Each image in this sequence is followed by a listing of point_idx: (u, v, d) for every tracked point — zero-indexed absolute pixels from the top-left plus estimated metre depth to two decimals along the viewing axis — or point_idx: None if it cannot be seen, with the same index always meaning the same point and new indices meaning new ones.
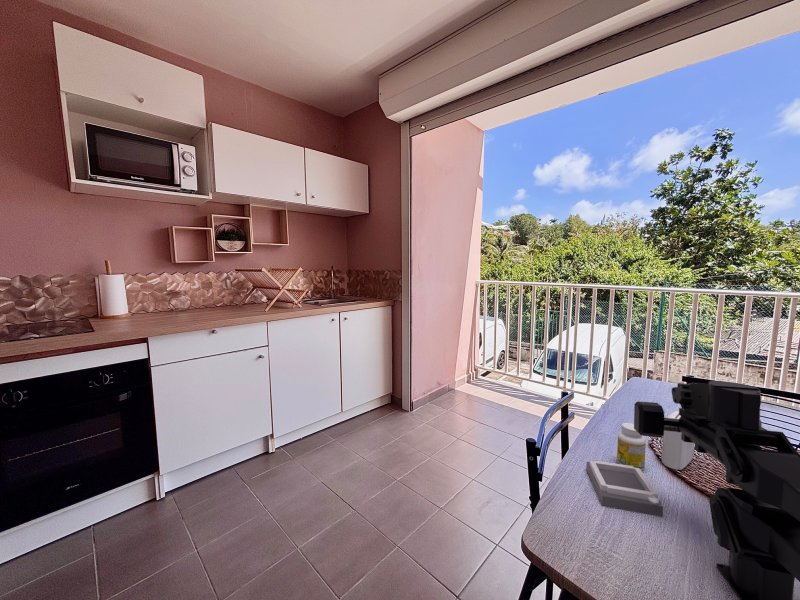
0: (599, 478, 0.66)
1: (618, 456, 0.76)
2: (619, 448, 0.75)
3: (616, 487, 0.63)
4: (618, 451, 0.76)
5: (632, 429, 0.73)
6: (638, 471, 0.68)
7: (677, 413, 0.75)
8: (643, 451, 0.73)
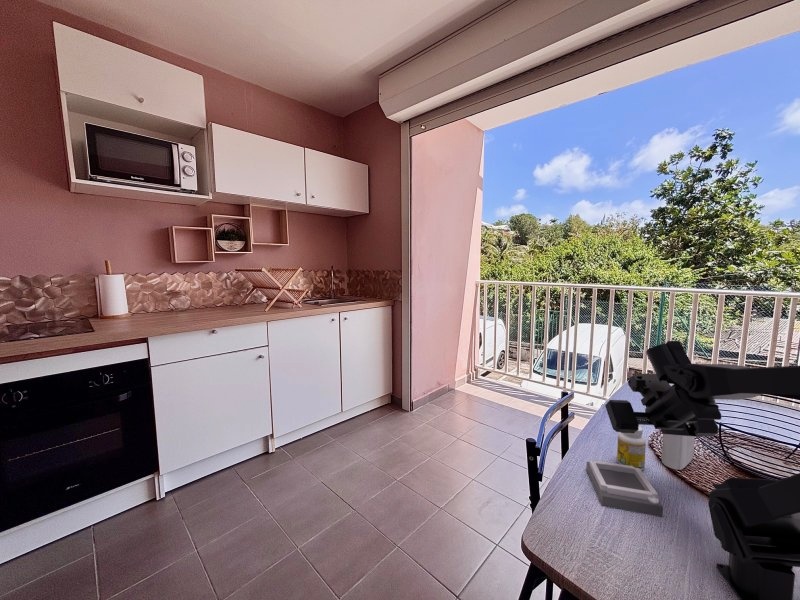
0: (599, 478, 0.66)
1: (618, 456, 0.76)
2: (619, 448, 0.75)
3: (616, 487, 0.63)
4: (618, 451, 0.76)
5: None
6: (638, 471, 0.68)
7: None
8: (643, 451, 0.73)
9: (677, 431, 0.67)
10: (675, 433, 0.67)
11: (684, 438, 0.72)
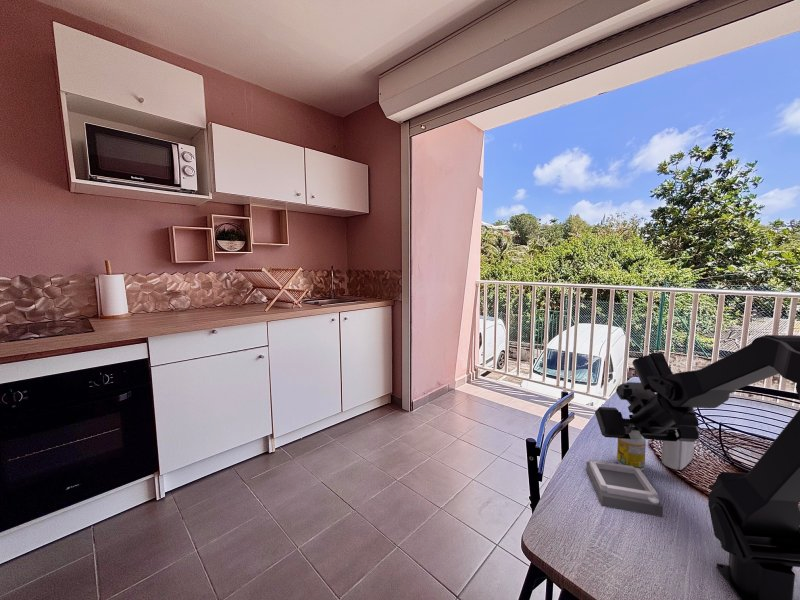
0: (599, 478, 0.66)
1: (618, 456, 0.76)
2: (619, 448, 0.75)
3: (616, 487, 0.63)
4: (618, 451, 0.76)
5: None
6: (638, 471, 0.68)
7: None
8: (643, 451, 0.73)
9: (653, 436, 0.72)
10: (651, 438, 0.72)
11: None
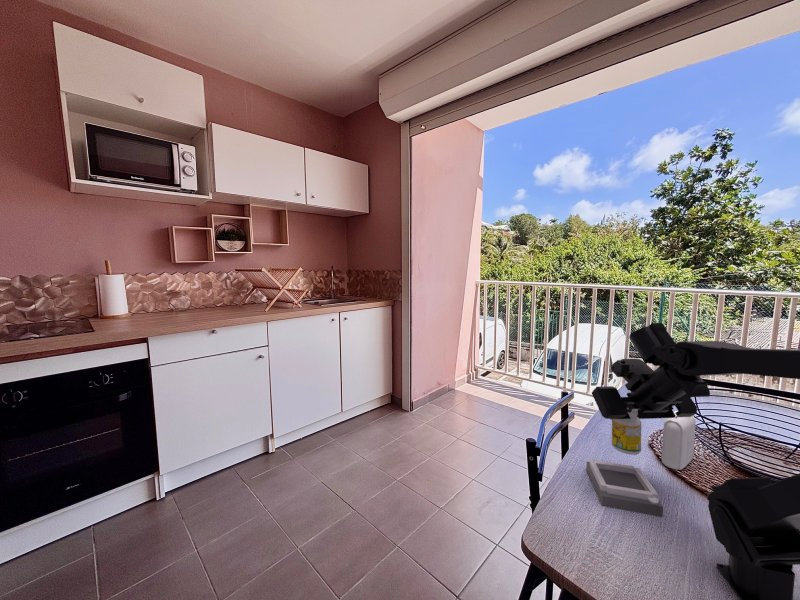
0: (599, 478, 0.66)
1: (614, 440, 0.71)
2: (615, 431, 0.70)
3: (616, 487, 0.63)
4: (613, 435, 0.71)
5: None
6: (638, 471, 0.68)
7: None
8: (640, 432, 0.68)
9: (650, 414, 0.67)
10: (647, 416, 0.68)
11: (684, 438, 0.72)
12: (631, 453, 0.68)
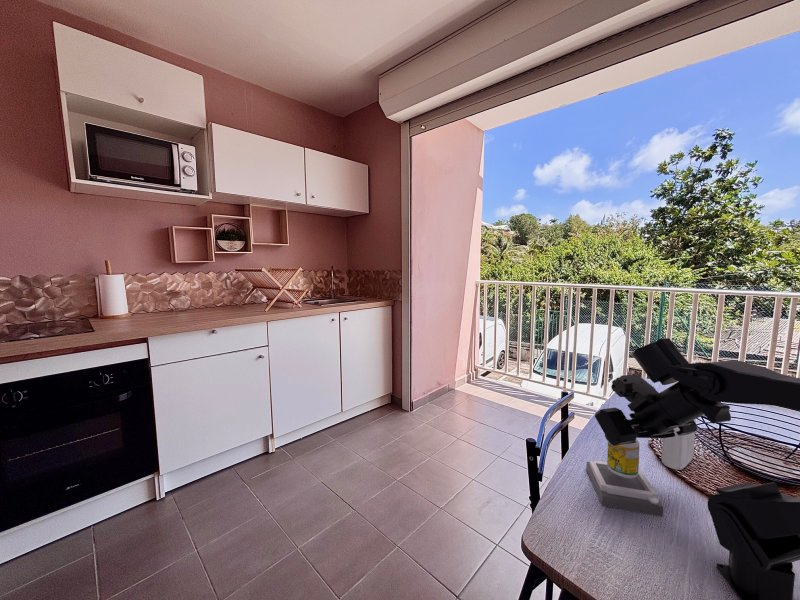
0: (599, 478, 0.66)
1: (611, 463, 0.65)
2: (613, 454, 0.65)
3: (616, 487, 0.63)
4: (611, 457, 0.66)
5: None
6: (638, 471, 0.68)
7: None
8: (638, 453, 0.64)
9: (648, 434, 0.63)
10: (645, 436, 0.64)
11: (684, 438, 0.72)
12: (630, 477, 0.63)
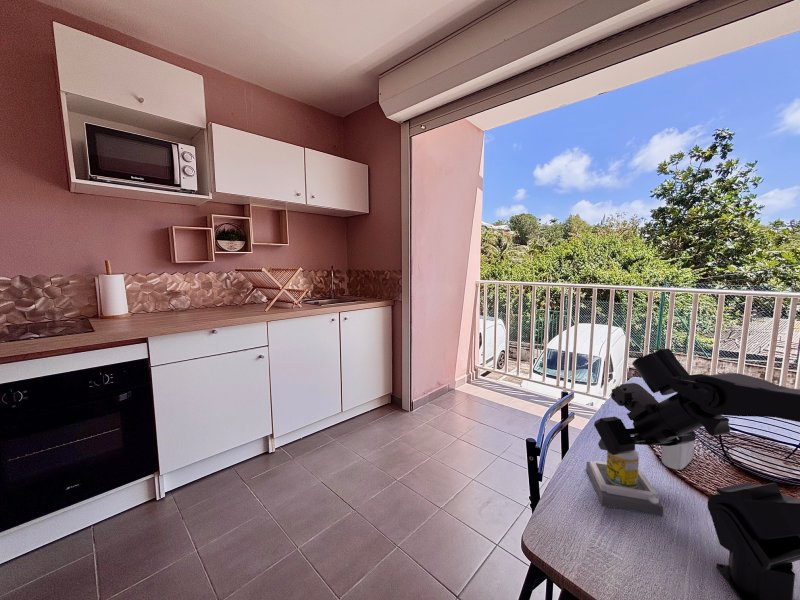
0: (599, 478, 0.66)
1: (611, 475, 0.66)
2: (612, 465, 0.65)
3: (616, 487, 0.63)
4: (610, 469, 0.66)
5: None
6: (638, 471, 0.68)
7: None
8: None
9: None
10: None
11: None
12: None
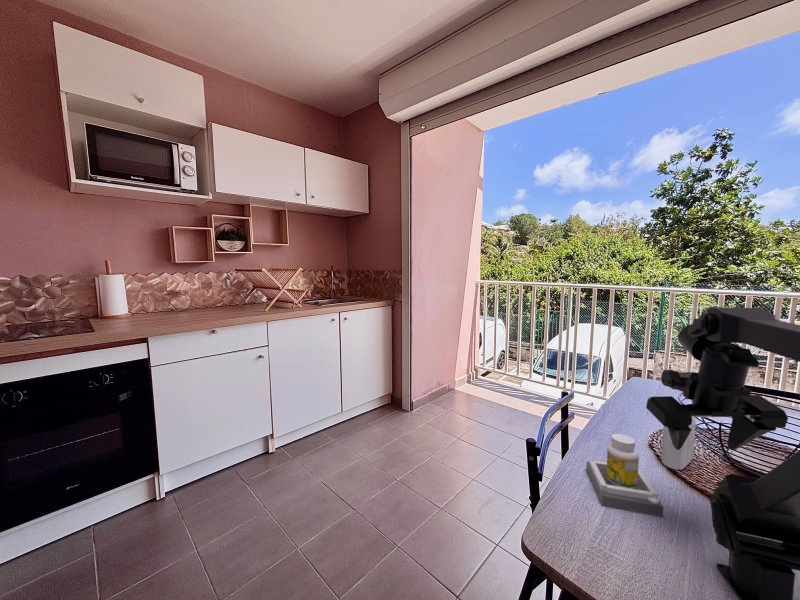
0: (599, 478, 0.66)
1: (611, 475, 0.66)
2: (612, 465, 0.65)
3: (616, 487, 0.63)
4: (610, 469, 0.66)
5: (626, 442, 0.64)
6: (638, 471, 0.68)
7: None
8: None
9: (744, 434, 0.56)
10: (743, 438, 0.56)
11: None
12: None
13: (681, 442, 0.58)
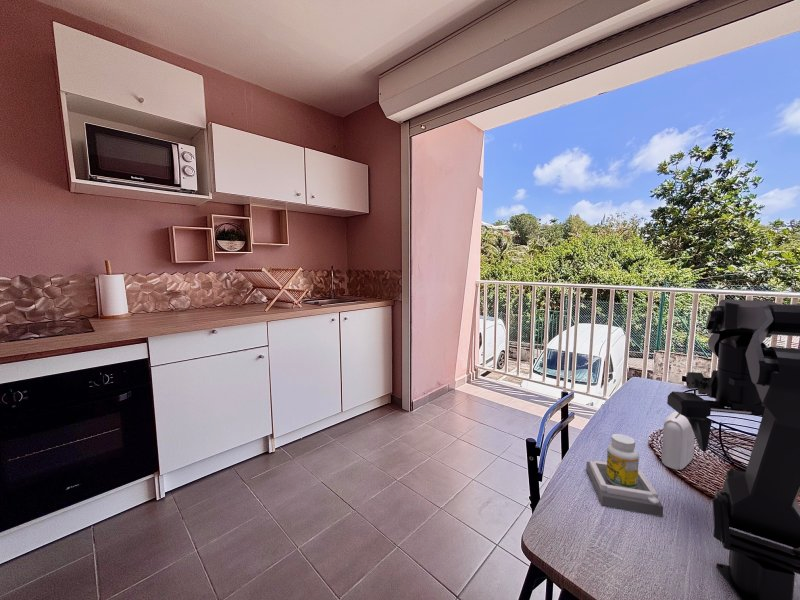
0: (599, 478, 0.66)
1: (611, 475, 0.66)
2: (612, 465, 0.65)
3: (616, 487, 0.63)
4: (610, 469, 0.66)
5: (626, 442, 0.64)
6: (638, 471, 0.68)
7: (677, 413, 0.75)
8: None
9: None
10: None
11: (684, 438, 0.72)
12: None
13: (705, 439, 0.57)
